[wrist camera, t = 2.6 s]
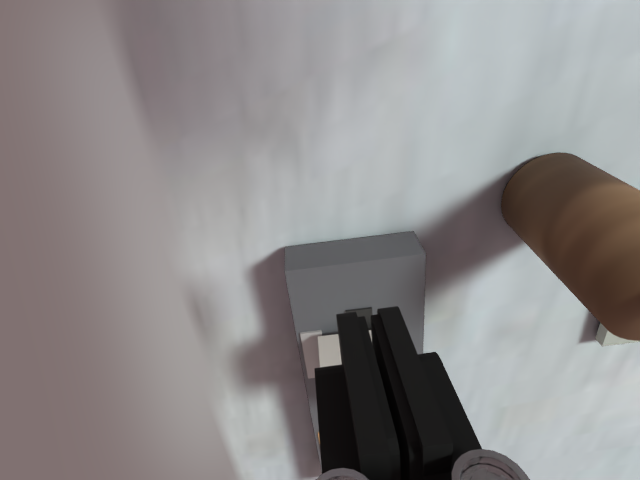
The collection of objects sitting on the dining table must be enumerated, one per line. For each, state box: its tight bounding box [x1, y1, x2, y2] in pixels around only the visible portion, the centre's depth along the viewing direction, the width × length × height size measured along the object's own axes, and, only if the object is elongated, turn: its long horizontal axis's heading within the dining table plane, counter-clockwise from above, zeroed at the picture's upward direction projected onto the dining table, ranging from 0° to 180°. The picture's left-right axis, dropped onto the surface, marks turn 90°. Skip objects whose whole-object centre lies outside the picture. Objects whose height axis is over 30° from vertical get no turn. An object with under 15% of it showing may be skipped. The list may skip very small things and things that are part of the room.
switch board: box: [284, 231, 426, 471], centre depth 22 cm, size 18×6×2 cm, turn 6°
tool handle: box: [501, 153, 640, 341], centre depth 14 cm, size 4×4×9 cm
